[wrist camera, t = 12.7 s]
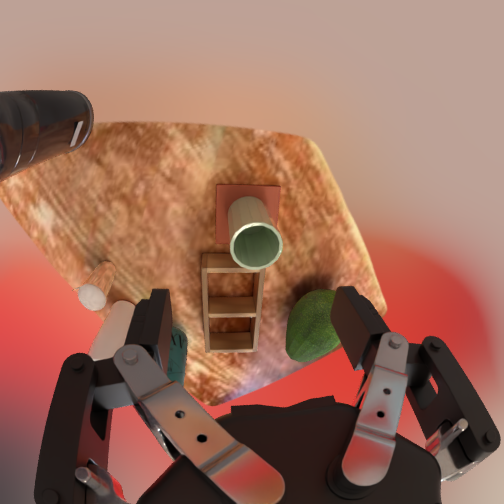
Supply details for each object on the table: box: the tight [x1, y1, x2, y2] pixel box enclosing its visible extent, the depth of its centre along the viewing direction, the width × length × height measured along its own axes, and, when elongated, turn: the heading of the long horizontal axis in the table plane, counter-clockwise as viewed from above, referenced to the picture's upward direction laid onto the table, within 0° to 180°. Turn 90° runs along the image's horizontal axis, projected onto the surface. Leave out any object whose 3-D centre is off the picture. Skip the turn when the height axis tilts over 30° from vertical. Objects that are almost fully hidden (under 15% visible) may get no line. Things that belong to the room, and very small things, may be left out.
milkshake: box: [72, 261, 116, 311], centre depth 39 cm, size 4×5×10 cm
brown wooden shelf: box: [201, 253, 265, 353], centre depth 47 cm, size 9×17×4 cm, turn 176°
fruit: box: [286, 289, 340, 362], centre depth 48 cm, size 15×10×10 cm, turn 155°
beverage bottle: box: [167, 327, 188, 386], centre depth 42 cm, size 6×7×20 cm
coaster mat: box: [216, 184, 281, 244], centre depth 42 cm, size 9×9×1 cm
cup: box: [227, 196, 283, 270], centre depth 38 cm, size 6×6×10 cm
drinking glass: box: [88, 300, 135, 361], centre depth 41 cm, size 7×7×15 cm
